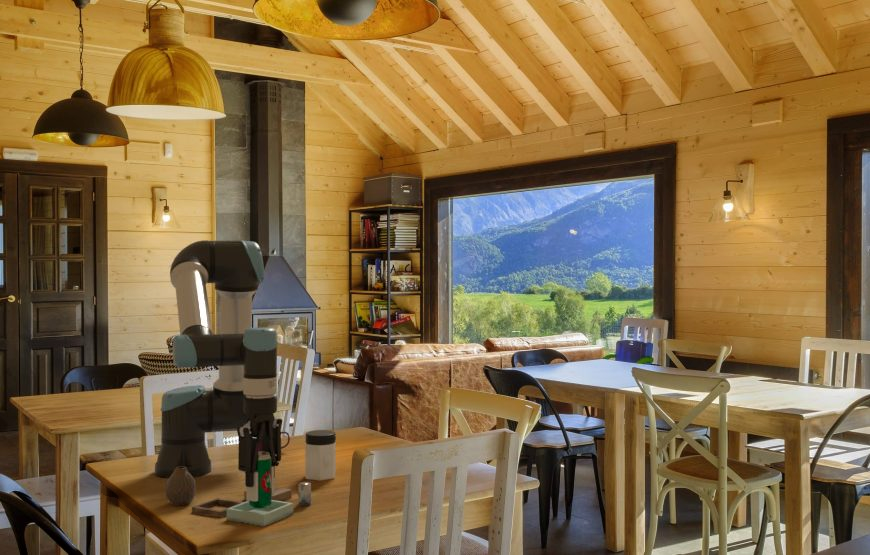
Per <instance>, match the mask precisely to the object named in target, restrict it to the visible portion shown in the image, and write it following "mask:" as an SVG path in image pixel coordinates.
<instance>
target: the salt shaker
mask: <svg viewBox="0 0 870 555" xmlns="http://www.w3.org/2000/svg"><path fill="white" fill-rule="evenodd" d="M297 488H298V491H297V493H298V506H299V507H309V506H311V505H312V482H307V481H303V482H299V483H298V486H297Z"/></svg>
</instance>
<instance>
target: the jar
mask: <svg viewBox="0 0 870 555" xmlns="http://www.w3.org/2000/svg"><path fill="white" fill-rule="evenodd" d="M336 439H337V436H336V431H334V430H328V429H318V430H317V429H315V430H310V431H307V432H305V445H304V446H305V447H304V448H305V449H304V450H305V452H304V456H305V457H304V458H305V459H304V461H305V463H304V464H305V469H304V471H305V475H304V476H305V477H304V478H305V479H306V480H312V481H326V480H327V481H328V480H333V479H335V478H336V464H337V463H336V456H337V455H336V446H337V445H336V444H337V442H336Z"/></svg>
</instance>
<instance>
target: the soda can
mask: <svg viewBox="0 0 870 555" xmlns="http://www.w3.org/2000/svg"><path fill="white" fill-rule="evenodd" d="M250 467H251V466H250ZM255 472H258V501H256V502H255V501H249V505H250V506H251V507H253V508H265V507H268V506H270V504H271V503H272V458H271V456H270V453H269V452H264V451H260V452H258V458H257V464H256V470H255Z"/></svg>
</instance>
